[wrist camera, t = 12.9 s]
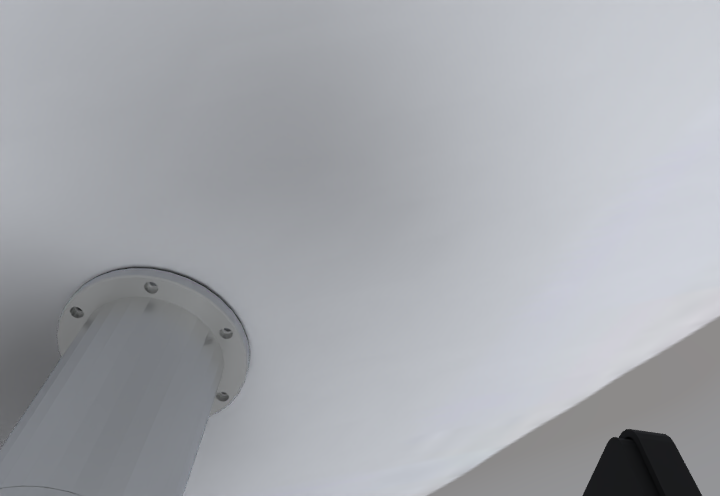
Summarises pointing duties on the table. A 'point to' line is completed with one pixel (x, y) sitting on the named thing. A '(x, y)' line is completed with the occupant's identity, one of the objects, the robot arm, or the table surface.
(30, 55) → the table surface
